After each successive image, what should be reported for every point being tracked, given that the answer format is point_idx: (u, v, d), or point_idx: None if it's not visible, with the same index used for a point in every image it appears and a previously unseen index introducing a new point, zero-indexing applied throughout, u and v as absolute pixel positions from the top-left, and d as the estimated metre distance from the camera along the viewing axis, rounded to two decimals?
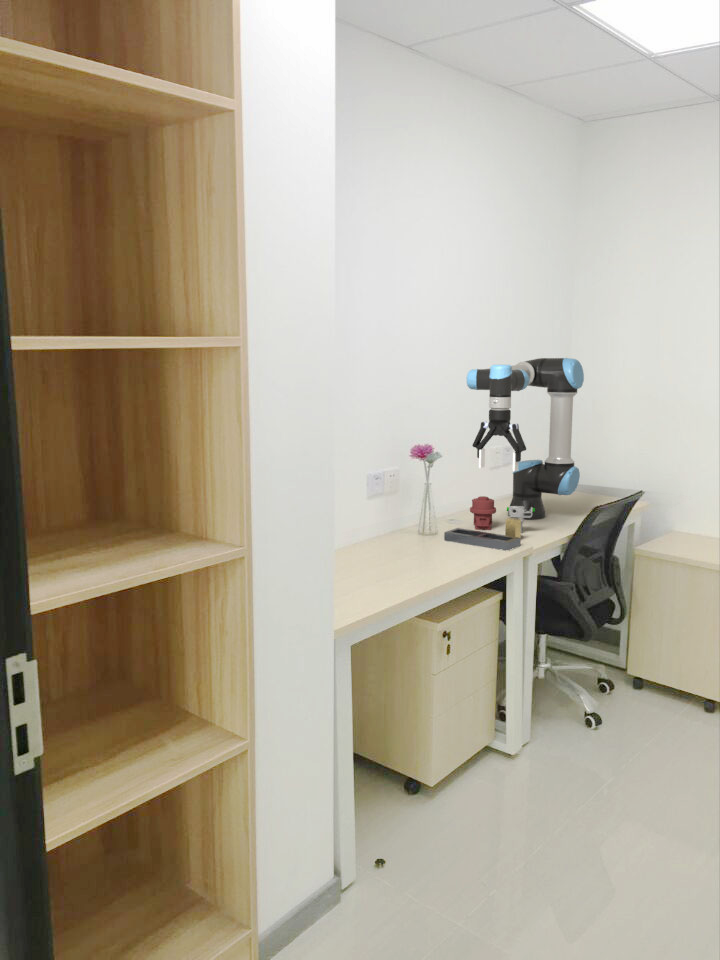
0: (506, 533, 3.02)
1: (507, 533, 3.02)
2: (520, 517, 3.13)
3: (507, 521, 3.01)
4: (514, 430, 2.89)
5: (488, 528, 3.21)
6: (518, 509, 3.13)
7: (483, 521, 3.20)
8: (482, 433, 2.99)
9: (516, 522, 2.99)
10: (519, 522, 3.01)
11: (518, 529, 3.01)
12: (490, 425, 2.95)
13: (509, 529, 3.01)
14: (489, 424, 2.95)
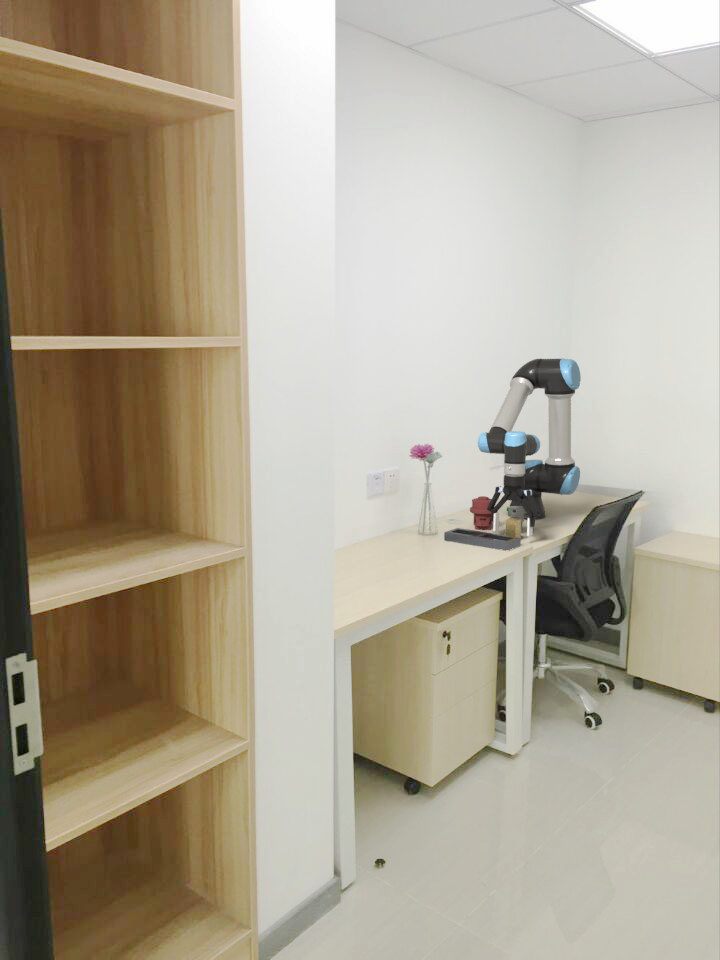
0: (506, 533, 3.02)
1: (507, 533, 3.02)
2: (520, 517, 3.13)
3: (507, 521, 3.01)
4: (528, 496, 2.95)
5: (488, 528, 3.21)
6: (518, 509, 3.13)
7: (483, 521, 3.20)
8: (497, 497, 3.05)
9: (516, 522, 2.99)
10: (519, 522, 3.01)
11: (518, 529, 3.01)
12: (505, 490, 3.01)
13: (509, 529, 3.01)
14: (504, 489, 3.01)
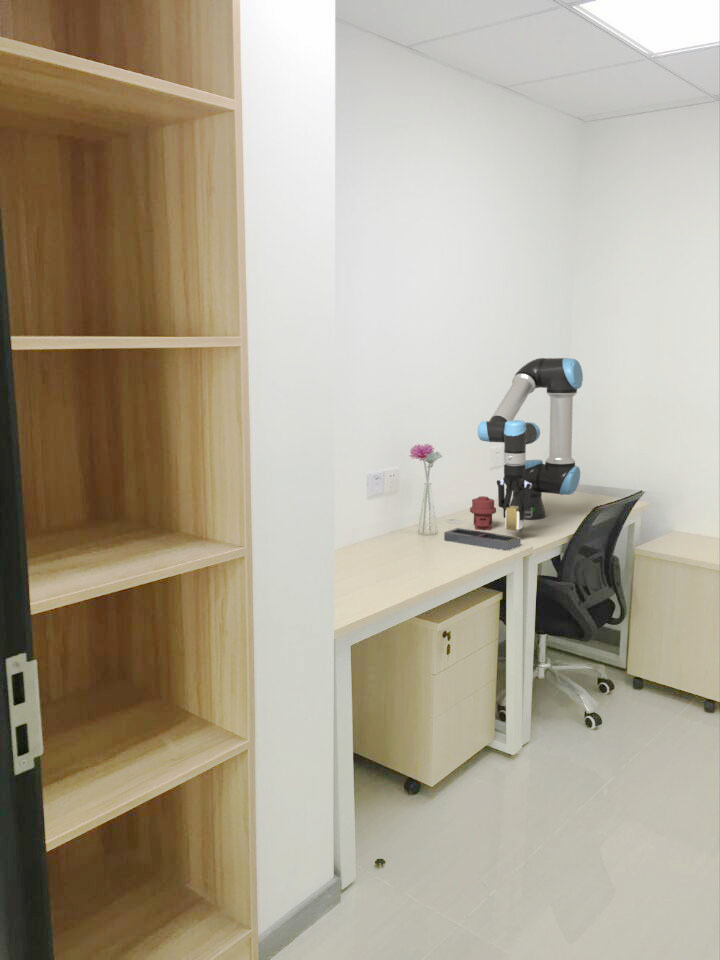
0: (507, 521, 3.02)
1: (508, 521, 3.02)
2: None
3: (508, 509, 3.01)
4: (526, 489, 2.96)
5: (488, 528, 3.21)
6: None
7: (483, 521, 3.20)
8: (502, 491, 3.03)
9: (516, 510, 2.99)
10: None
11: None
12: (505, 479, 3.01)
13: (510, 517, 3.01)
14: (504, 479, 3.01)
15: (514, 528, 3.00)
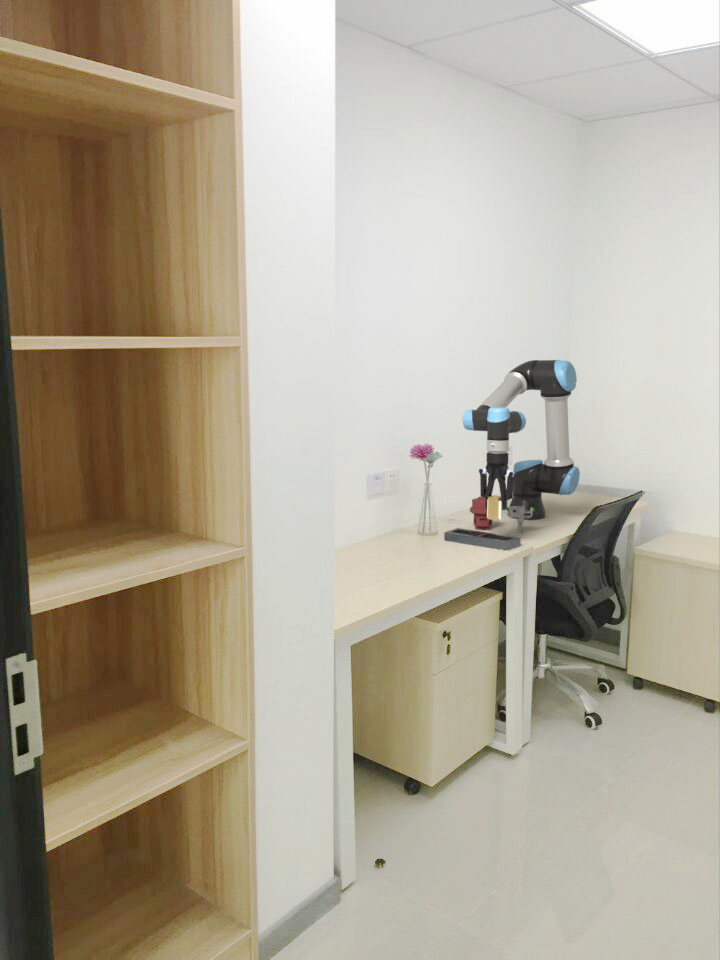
0: (489, 511, 2.93)
1: (490, 511, 2.93)
2: (520, 517, 3.13)
3: (490, 498, 2.93)
4: (509, 478, 2.88)
5: (488, 528, 3.21)
6: (518, 509, 3.13)
7: (483, 521, 3.20)
8: (484, 480, 2.95)
9: (498, 499, 2.91)
10: None
11: None
12: (488, 468, 2.93)
13: (492, 506, 2.92)
14: (486, 467, 2.93)
15: (496, 518, 2.92)
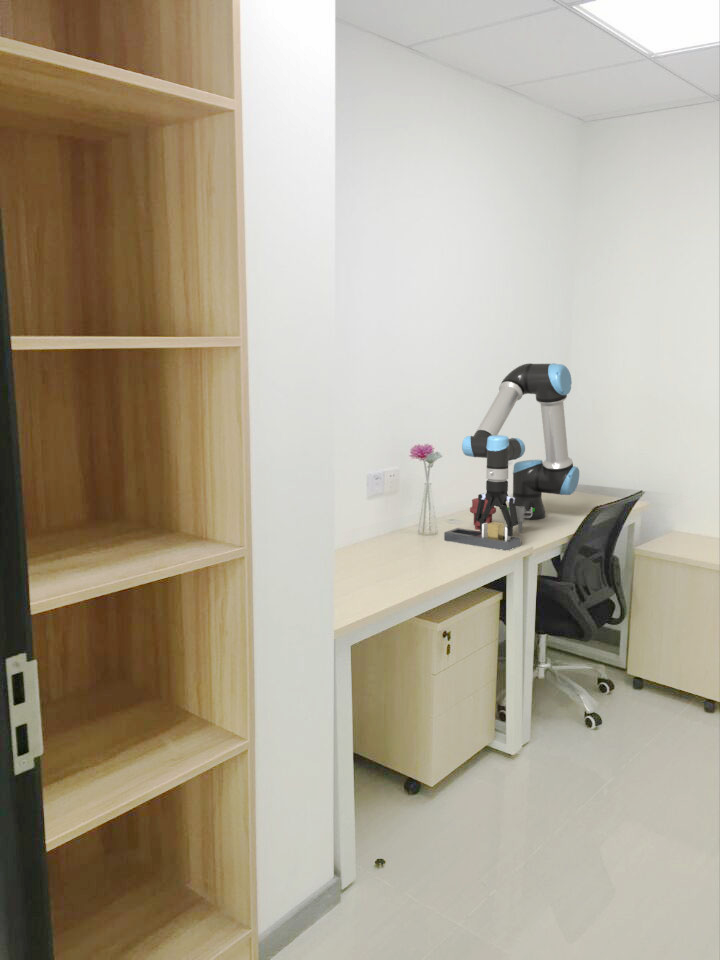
0: None
1: None
2: (520, 517, 3.13)
3: (489, 525, 2.94)
4: (510, 504, 2.89)
5: None
6: (518, 509, 3.13)
7: None
8: (482, 505, 2.97)
9: (498, 527, 2.92)
10: (501, 527, 2.94)
11: (500, 534, 2.94)
12: (487, 495, 2.94)
13: (491, 534, 2.94)
14: (486, 495, 2.95)
15: None
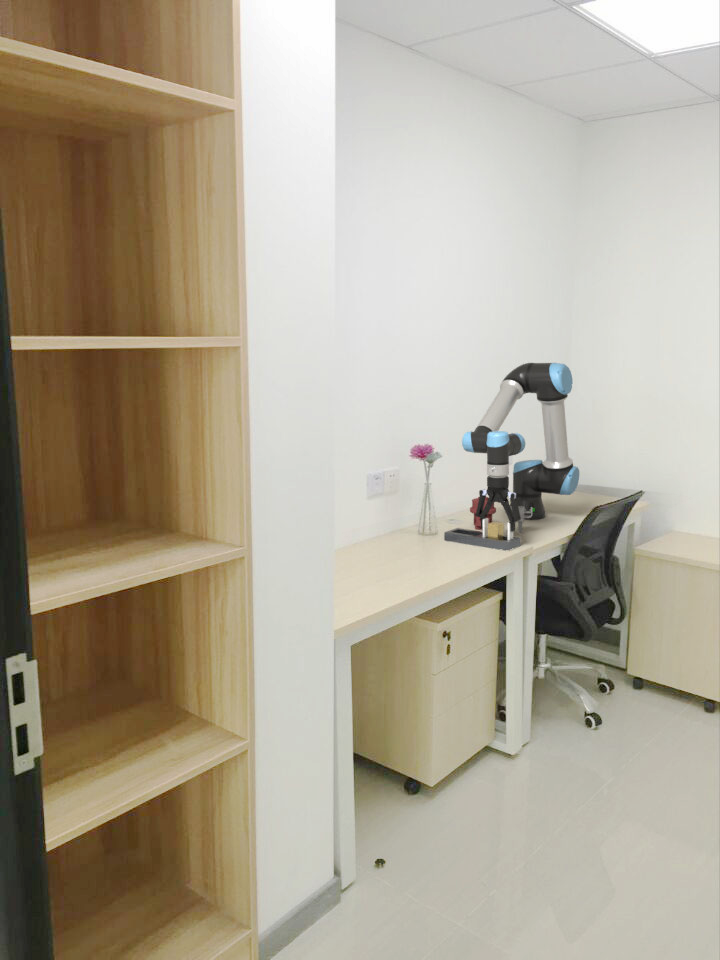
0: None
1: None
2: None
3: (489, 525, 2.94)
4: (512, 500, 2.89)
5: None
6: None
7: None
8: (482, 501, 2.97)
9: (498, 527, 2.92)
10: (501, 527, 2.94)
11: (500, 534, 2.94)
12: (488, 491, 2.94)
13: (491, 534, 2.94)
14: (487, 491, 2.94)
15: None
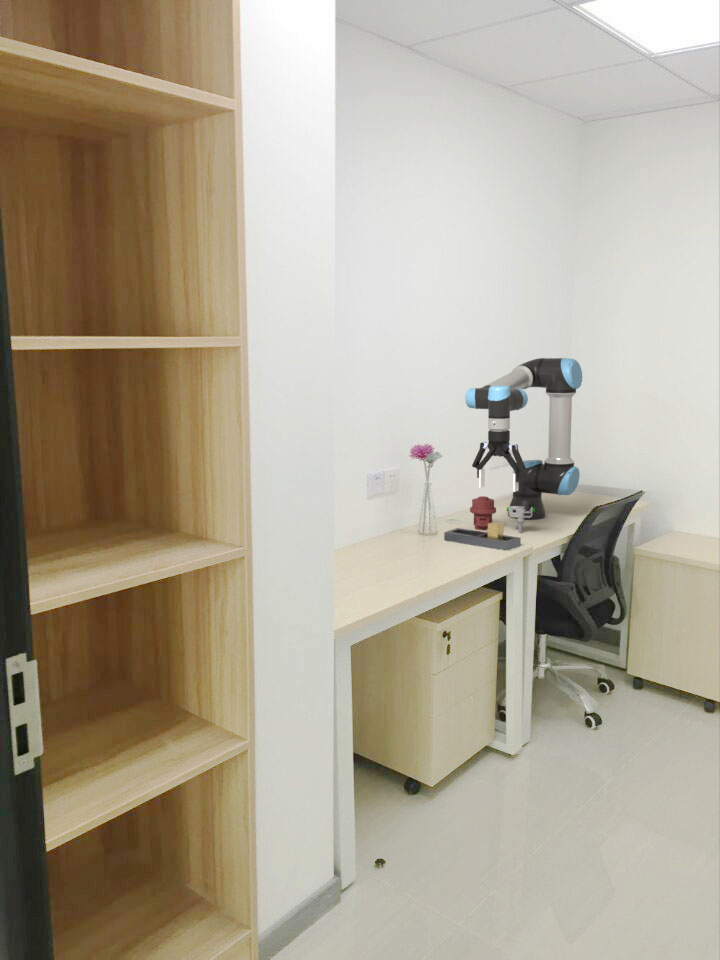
0: None
1: None
2: (520, 517, 3.13)
3: (489, 525, 2.94)
4: (514, 451, 2.91)
5: None
6: (518, 509, 3.13)
7: (483, 521, 3.20)
8: (481, 453, 3.00)
9: (498, 527, 2.92)
10: (501, 527, 2.94)
11: (500, 533, 2.94)
12: (489, 446, 2.96)
13: (491, 534, 2.94)
14: (488, 445, 2.97)
15: None
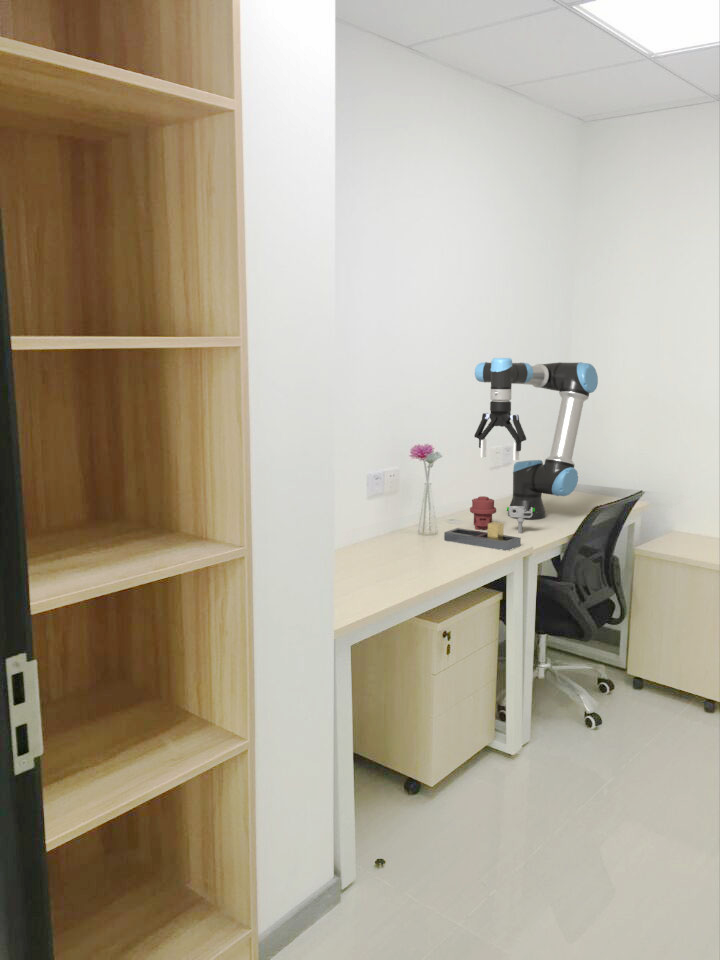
0: None
1: None
2: (520, 517, 3.13)
3: (489, 525, 2.94)
4: (514, 421, 3.01)
5: None
6: (518, 509, 3.13)
7: (483, 521, 3.20)
8: (484, 424, 3.10)
9: (498, 527, 2.92)
10: (501, 527, 2.94)
11: (500, 534, 2.94)
12: (491, 416, 3.06)
13: (491, 534, 2.94)
14: (490, 415, 3.07)
15: None
